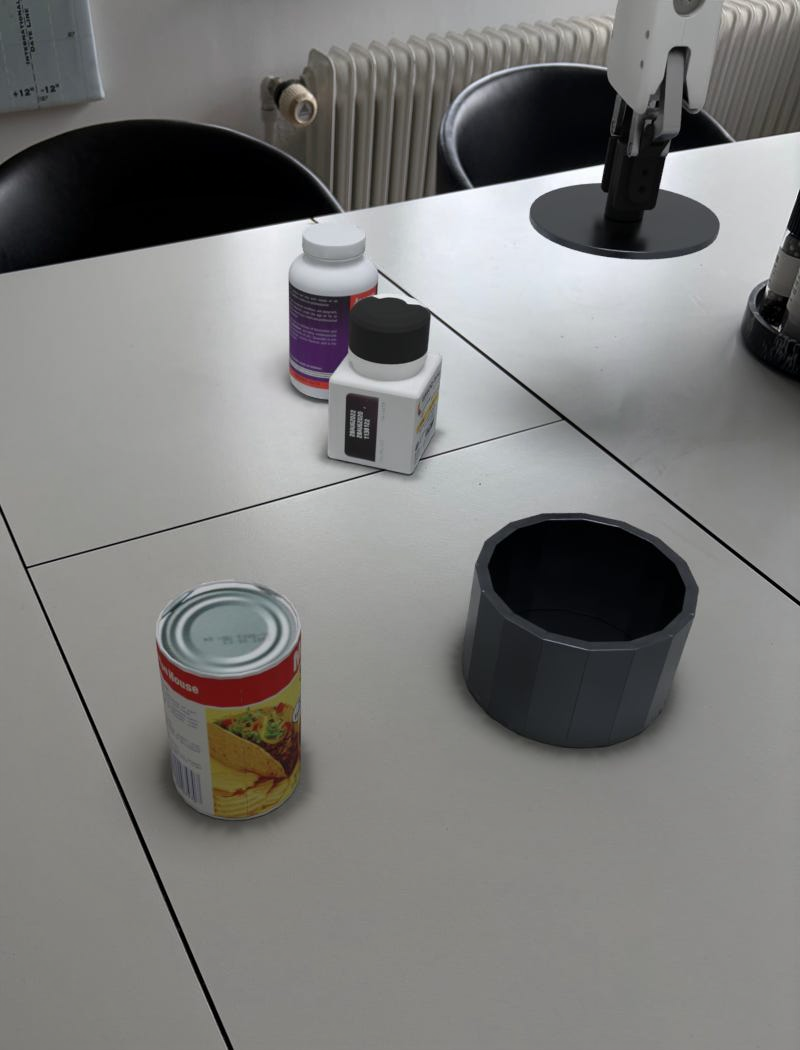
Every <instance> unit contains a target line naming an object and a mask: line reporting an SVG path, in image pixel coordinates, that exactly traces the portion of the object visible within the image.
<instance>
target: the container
mask: <svg viewBox="0 0 800 1050" xmlns="http://www.w3.org/2000/svg"><path fill="white" fill-rule="evenodd" d="M431 317H432V315H431V312H430V310H429V308H427V306H426V305H425V304H424V303H422V302H421V301H420V300H418V299H415V298H413V297H410V296H407V295H403V294H398V293H377V295H373V296H369V297H366V298H363V299H361V300H359V301H358V302H357V303H356V304H355V305H354V306H353V307H352V308H351V310H350V316H349V346H348V354H347V356H346V357H345V358H344V360H343V361H342V362H341V364H340V365H339V366H338V368H337V369H336V370H335V372H334V373H333V374H332V376H331V377H330V379H329V400H328V410H327V411H328V416H327V422H328V423H327V456H328V457H329V458H330V459H334V460H339V461H344V462H349V463H353V464H357V465H363V466H367V467H373V468H377V469H382V470H386V471H392V472H396V473H400V474H406V475H411V474H412V473H414V471H415V469H416V468H417V465H418V463H419V462H420V459H421V457H422V456H423V454H424V452H425V450H426V448H427V447H428V445H429V444H430V441H431V439H432V437H433V435H434V434H435V431H436V427H437V426H436V425H437V417H438V406H439V397H440V387H441V386H440V385H441V375H442V365H443V356H442V355H443V354H442V355H441V353H440V352H439V353H438V352H434V351H433V352H431V351H429V342H430V330H431V319H432V318H431Z"/></svg>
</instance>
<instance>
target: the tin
mask: <svg viewBox="0 0 800 1050" xmlns="http://www.w3.org/2000/svg"><path fill="white" fill-rule="evenodd" d="M470 589H471V590H470V597H469V602H468V612H467V616H466V617H467V618H466V625H465V632H464V638H463V645H462V651H461V658H462V672H463V676H464V680H465V684H466V685H467V688H468V689H469V691H470V694H471V695H472V696H473V698H474V699H475V701H476V702H477V703H478V704H479V706H480V707H481V708H482V710H484V712H486V713H487V714H488V715H490V717H492V718H493V720H496V721H497V722H498V723H500V724H501V725H503V726H504V727H506V728H508V729H510V730H511V731H512V732H515V733H516V734H519V735H522V736H524V737H526V738H529V739H531V740H535V741H537V742H539V743H540V742H541V743H545V744H548V745H553V746H559V747H567V748H580V749H581V748H584V749H585V748H600V747H605V746H610V745H614V744H617V743H621V742H625V741H626V740H628V739H631V738H633V737H635V736H636V735H638V734H640V733H641V732H643V731H644V730H646V729H647V728H648V727H649V726H650V725H651V724H652V723H653V722H654V721H655V720H656V718H657V717H658V715H659V713H660V712H661V710H662V709H663V708H665V707H664V706H665V704H666V701H667V698H668V696H669V693H670V690H671V688H672V684H673V681H674V679H675V675H676V672H677V670H678V667H679V663H680V660H681V659H682V655H683V653H684V650H685V649H684V648H685V646H686V643H687V639H688V638H689V634H690V631H691V628H692V625H693V622H694V619H695V616H696V612H697V605H698V600H699V594H700V593H699V592H700V587H699V585H698V583H697V581H696V579H695V576H694V574H693V572H692V571H691V569H690V567H689V564H688V562H687V561H686V560H685V559H684V558H683V557H682V556H680V554H678V553H677V552H676V551H675V550H674V549H673V548H671V547H670V546H669V545H668V544H667V543H665V541H663V540H662V539H661V538H660V537H658V536H656V535H653V534H651V533H649V532H647V531H645V530H643V529H641V528H638V527H636V526H634V525H632V524H630V523H628V522H626V521H623V520H618V519H614V518H610V517H605V516H601V515H595V514H591V513H586V512H542V513H539V514H535V515H531V516H528V517H525V518H520V519H516V520H513V521H509V523H507V524H505V525H504V526H503V527H502V528H500V529H499V530H498V531H496V532H495V533H493V534H492V535H491V536H489V537H488V538H487V539H485V541H484V542H483V544H482V547H481V549H480V552H479V554H478V556H477V559H476V561H475V563H474V569H473V577H472V582H471V588H470Z"/></svg>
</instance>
